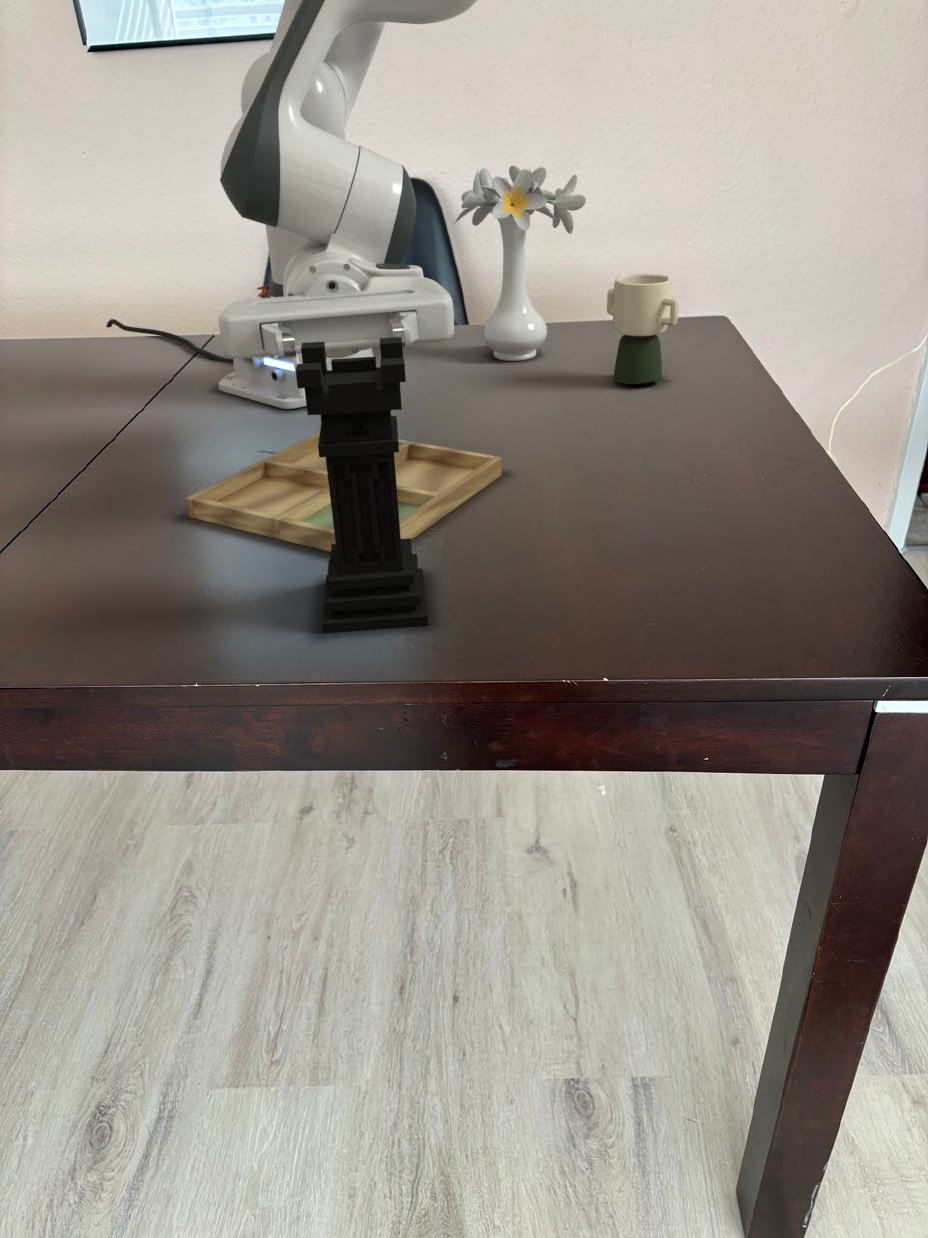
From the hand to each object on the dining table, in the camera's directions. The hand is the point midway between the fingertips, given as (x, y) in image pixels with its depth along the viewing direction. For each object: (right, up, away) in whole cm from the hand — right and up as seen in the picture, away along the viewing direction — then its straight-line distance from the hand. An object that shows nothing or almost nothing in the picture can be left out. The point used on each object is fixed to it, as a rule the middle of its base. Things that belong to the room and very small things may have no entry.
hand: (344, 343), depth 77 cm
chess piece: (+3, -21, -1) cm, 22 cm away
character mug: (+32, +8, +47) cm, 58 cm away
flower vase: (+17, +16, +61) cm, 65 cm away
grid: (-2, -10, +18) cm, 21 cm away
